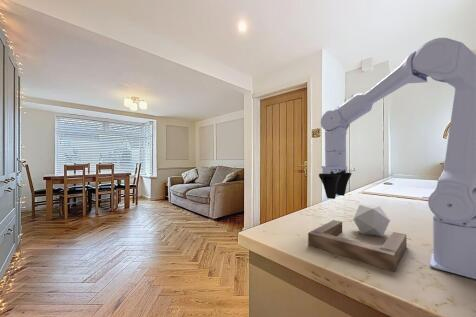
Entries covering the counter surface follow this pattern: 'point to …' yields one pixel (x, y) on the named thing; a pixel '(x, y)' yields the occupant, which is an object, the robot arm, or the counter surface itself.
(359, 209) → the die
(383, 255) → the pocket
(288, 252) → the counter surface
